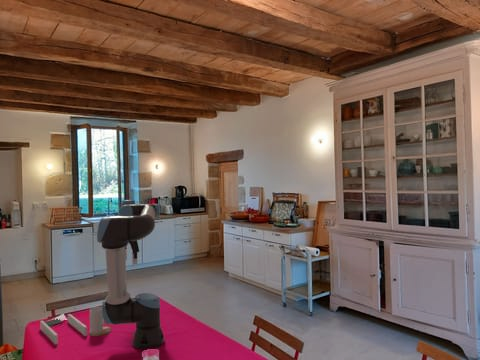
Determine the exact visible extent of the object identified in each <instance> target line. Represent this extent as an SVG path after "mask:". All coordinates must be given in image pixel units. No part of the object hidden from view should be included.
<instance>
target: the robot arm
mask: <svg viewBox="0 0 480 360" xmlns="http://www.w3.org/2000/svg"><path fill="white" fill-rule="evenodd" d="M160 209H161V207H160V204H159V203H142V204H141V203H140V204H136V201H135V199H124V200H122V201H121V206H120V207H119V209H118V214H119V215H118V216H117V215H116V216H112V215H110V216H104V217H102V218H100V220H99V223H98V227H97V232H96V233H97V234H96V240H97V243H99V244H101V248H102V249H104V250H105V259H106V260H105V262H106V275H107V276H106V277H107V291H108V292H107V293H108V294H107V295H106V296H105V300H103V301H102V305H101V307H102V315H103V320H104V322H105V323H104V324H106V325H113V326H116V325H125V324H135V331H134V333H133V337H132V347H134V348H135V349H137V350H148V349H147V348H152V349H155V348H158V347H160V346H162V345H163V344H164V342H165V336H164V333H163V330H162V326H161V300H160V297H159V296H158V295H157V294H154V293H147V292H143V293H138V294H136V295H135V297H131V295H132V294H131V293H129V292H128V286H127V285H128V283H127V282H128V281H127V266H126V263H127V262H126V261H127V259H128V257H127V256H128V255H127V253H128V252H127V250H128V248H127V247H128V245H130V249H131V251H132V252H131V254H132V256H131V258H132V260H131V263H132V265H138V253H140V248H139V243H138V241H139V240H140V241H141V240H143V239H144V238H146V237H148V236H149V235H150V234H152V232H153V231H154V230H155V227H156V222H155V219H156V218H159V217H160V214H161V210H160Z"/></svg>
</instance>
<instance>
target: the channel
mask: <svg viewBox="0 0 480 360" xmlns="http://www.w3.org/2000/svg"><path fill="white" fill-rule="evenodd" d="M67 323H68V324H70V326H72V327H73V328H74V329H75V330H77V331H78V332H79V333H81V335H83V336H84V337H87V336H88V327H87V325H85V324H84V323H82V321H80V320H79V319H77V318H76V317H75V316H74V315H72V314H71V313H69V314H68V313H67ZM39 324H40V326H39V327H40V331H41V332H42V333H43V334H44V335H45V336H46V337H47V338H48V339H49V340H50V341H51V342H52V343H53V344H54V345H58V344H59V339H58V338H59V337H58V336H59V335H58V333H57V332H56V331H55V330H53V329H52V328H51V326H48V325H47V324H46V323H45V321H44V320H40V321H39Z"/></svg>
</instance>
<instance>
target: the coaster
mask: <svg viewBox="0 0 480 360" xmlns="http://www.w3.org/2000/svg"><path fill="white" fill-rule="evenodd" d="M111 332H112V328H111V327H110V326H103V331H102V332H101V333H98V334H92V333H90V330H89V331H88V335H89V336H91V337H101V336H106V335H108V334H110V333H111Z"/></svg>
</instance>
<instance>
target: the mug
mask: <svg viewBox="0 0 480 360" xmlns="http://www.w3.org/2000/svg"><path fill="white" fill-rule="evenodd" d="M104 324H106V323H105V322H104V319H103V315H102V306H94V307H91V308H90V309H89V331H90V333H92V334H98V333H101V332H102V331H103V327H104Z"/></svg>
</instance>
